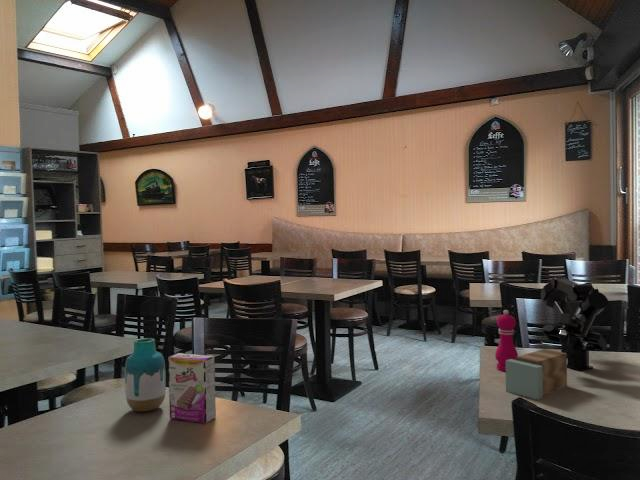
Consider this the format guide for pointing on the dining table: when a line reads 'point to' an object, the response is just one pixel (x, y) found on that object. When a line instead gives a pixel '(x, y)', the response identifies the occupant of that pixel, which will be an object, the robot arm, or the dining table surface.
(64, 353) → the dining table surface
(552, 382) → the wooden block
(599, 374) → the dining table surface
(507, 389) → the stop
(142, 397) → the vase
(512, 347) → the pepper mill
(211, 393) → the candy bar box
